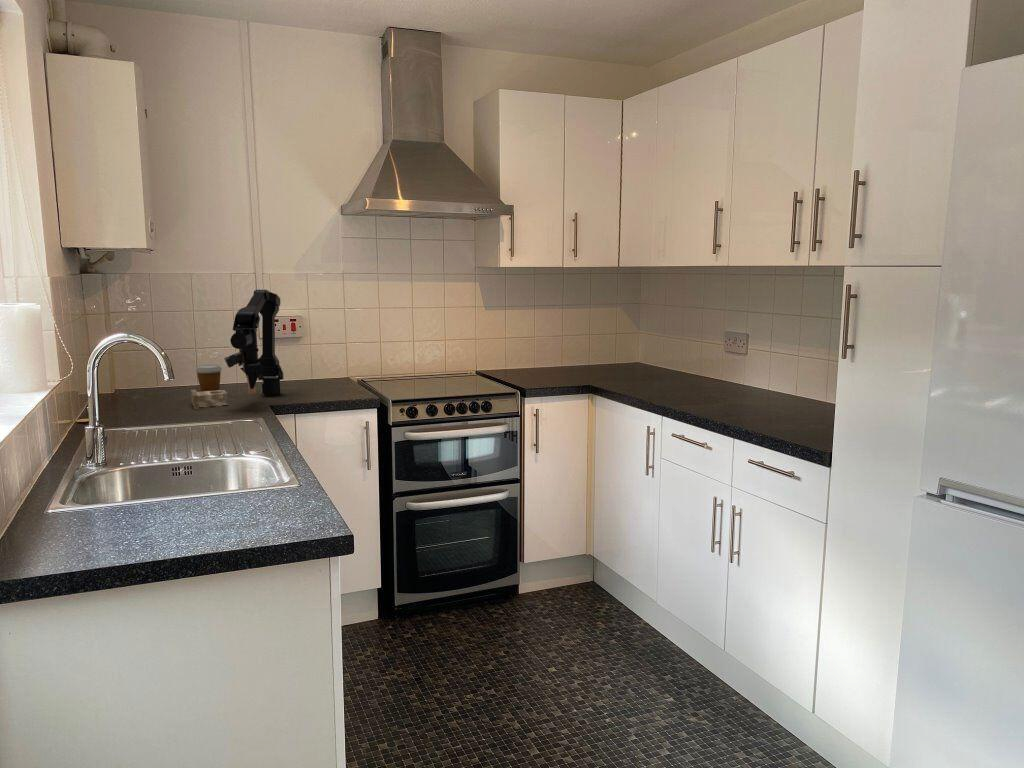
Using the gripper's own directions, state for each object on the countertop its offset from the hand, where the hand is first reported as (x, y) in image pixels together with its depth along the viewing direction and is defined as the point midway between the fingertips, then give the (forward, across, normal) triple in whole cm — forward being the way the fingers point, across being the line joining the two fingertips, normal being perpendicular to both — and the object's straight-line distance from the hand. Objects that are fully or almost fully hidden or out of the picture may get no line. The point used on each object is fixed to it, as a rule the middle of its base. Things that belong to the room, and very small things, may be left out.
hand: (251, 387), depth 276 cm
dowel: (+2, 0, 0) cm, 2 cm away
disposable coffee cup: (+7, -27, -12) cm, 30 cm away
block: (+7, -10, -13) cm, 18 cm away
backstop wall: (+7, -10, -19) cm, 22 cm away
